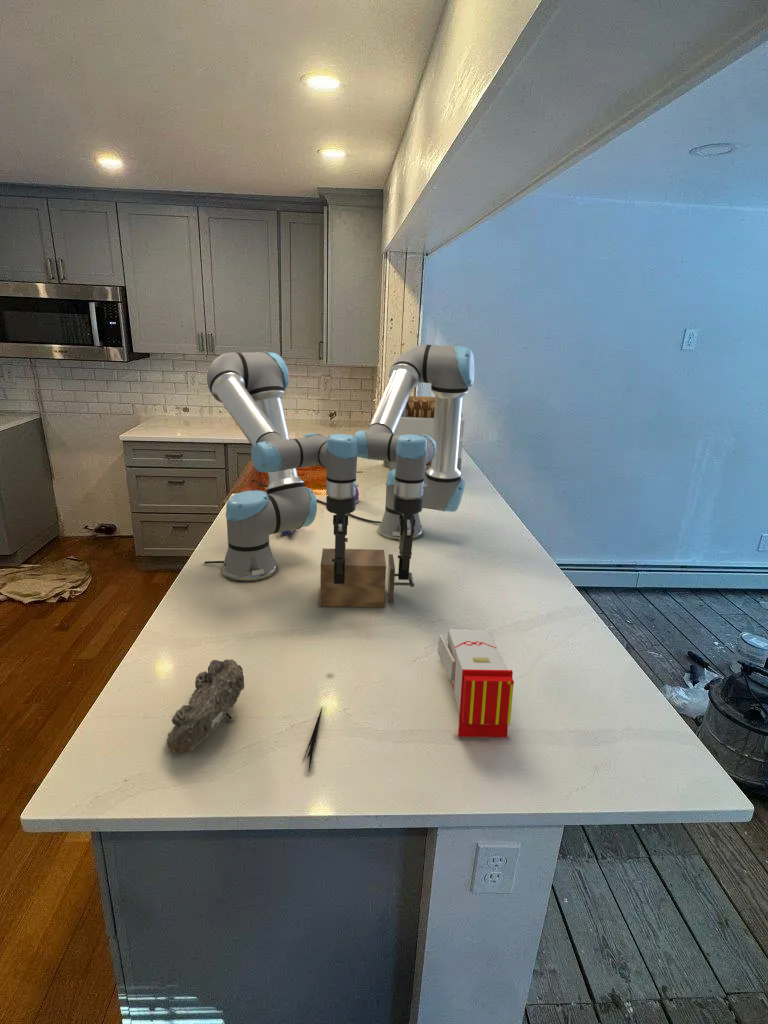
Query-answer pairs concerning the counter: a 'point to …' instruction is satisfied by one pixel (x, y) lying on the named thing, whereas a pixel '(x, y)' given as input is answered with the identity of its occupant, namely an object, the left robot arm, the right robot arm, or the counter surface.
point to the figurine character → (288, 532)
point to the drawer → (391, 579)
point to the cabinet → (354, 579)
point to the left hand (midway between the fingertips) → (339, 573)
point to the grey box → (421, 423)
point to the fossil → (206, 705)
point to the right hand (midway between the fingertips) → (403, 578)
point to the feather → (313, 740)
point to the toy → (478, 682)
